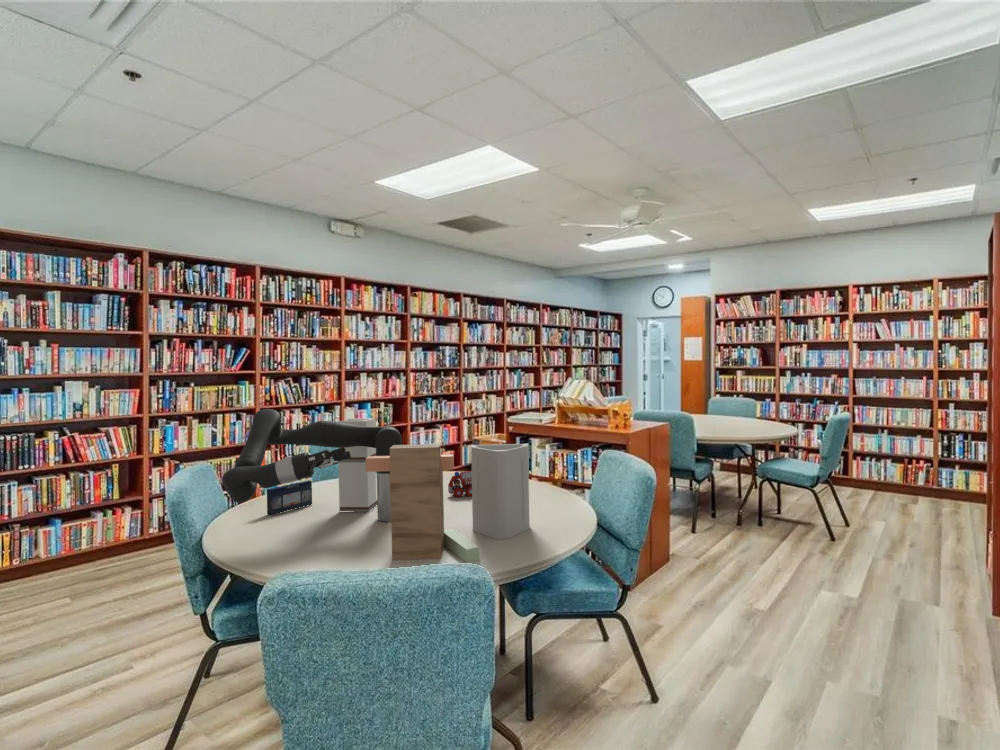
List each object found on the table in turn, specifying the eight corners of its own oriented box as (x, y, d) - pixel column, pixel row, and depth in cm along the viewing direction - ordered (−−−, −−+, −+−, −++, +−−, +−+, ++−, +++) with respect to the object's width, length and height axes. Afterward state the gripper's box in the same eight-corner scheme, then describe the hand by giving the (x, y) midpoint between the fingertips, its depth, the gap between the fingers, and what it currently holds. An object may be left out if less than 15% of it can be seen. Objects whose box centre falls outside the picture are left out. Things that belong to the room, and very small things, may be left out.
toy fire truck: (447, 494, 232) (446, 470, 232) (475, 492, 235) (474, 468, 235) (449, 498, 226) (449, 473, 225) (478, 496, 229) (478, 471, 228)
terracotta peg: (368, 469, 165) (368, 456, 165) (453, 467, 166) (453, 454, 166) (365, 471, 161) (365, 458, 161) (453, 469, 162) (452, 456, 162)
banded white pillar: (377, 505, 216) (375, 418, 216) (368, 512, 206) (366, 420, 205) (349, 505, 217) (347, 418, 217) (339, 512, 207) (337, 421, 206)
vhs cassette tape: (270, 516, 204) (269, 489, 203) (266, 515, 205) (265, 489, 205) (313, 505, 218) (312, 481, 218) (308, 504, 220) (308, 480, 220)
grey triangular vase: (471, 540, 170) (470, 451, 170) (473, 526, 185) (471, 445, 185) (532, 538, 171) (530, 450, 170) (528, 524, 186) (527, 443, 185)
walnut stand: (398, 545, 166) (396, 442, 166) (444, 544, 166) (442, 441, 166) (392, 559, 154) (389, 448, 154) (441, 558, 154) (438, 447, 154)
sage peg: (441, 543, 169) (441, 530, 169) (453, 541, 171) (453, 528, 171) (466, 563, 151) (466, 549, 151) (479, 561, 153) (479, 547, 153)
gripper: (303, 482, 169) (354, 466, 172) (290, 478, 156) (346, 461, 158) (298, 459, 171) (348, 444, 174) (285, 453, 157) (340, 437, 160)
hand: (347, 452), depth 166 cm, fingers open, 8 cm apart
